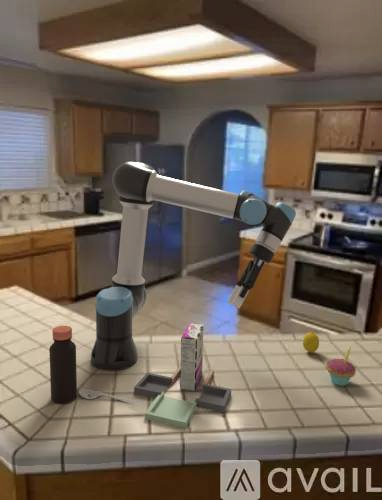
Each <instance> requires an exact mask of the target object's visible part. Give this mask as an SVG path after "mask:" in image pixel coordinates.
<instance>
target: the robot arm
mask: <svg viewBox="0 0 382 500" xmlns="http://www.w3.org/2000/svg"><path fill="white" fill-rule="evenodd" d="M112 174H113V175H112V180H111V181H112V186H113V188H114V190H115V191H116V193H117V194H118V196H119V199H118V202H119V204H121V205H122V216H121V225H120V239H119V249H118V260H117V272H116V274H115V275H114V276H112V277H111V278H112V279H111V287H108V288H103V289H101V290H100V291H99V292H98V294H96V296H95V297H96V299H95V305H94V306H95V328H96V329H95V331H96V332H95V333H96V334H95V335H96V336H95V342H94V344H93V348H92V350H91V355H90V363H91V364H92V365H93V366H94V367H95V368H97V369H100V370H105V371H119V370H124V369H128V368H129V367H132V366H133V365H136V363H137V361H138V349H137V347H136V343H135V341H134V337H133V319H134V318H135V316H136V315H137V313H138V312H139V311H140V310H142V308H143V307H144V305H145V303H146V299H147V291H146V290H147V289H146V287H145V286H146V279H145V278H144V277H143V275H142V274H143V264H144V263H143V262H144V254H145V246H146V237H147V226H148V225H147V224H148V215H149V209H151V208H152V207H153V206H154V202H155V201H157V202H161V203H165V204H170V205H174V206H177V207H181V208H182V207H183V208H187V209H190V210H194V211H198V212H199V211H200V212H204V213H208V214H211V215H216V216H220V217H225V218H228V219H233V220H236V221H240V222H244V223H245V224H247V225H250V226H252V225H253V226H255V225H260V226H262V229H261V230H260V232H259V233H258V235H257V237H256V239H255V243H253V244H252V246H251V248H250V249H249V254H250V255H251V256H253V259H250V260H249V262H248V264H247V265H246V267H245V269H244V270H243V273H242V274H241V275H240V277H239V279H238V280H237V281H236V285H235V287H234V289H233V291H232V292H231V294H230V296H229V297H228V299H227V303H229V304H230V305H231V306H234V307H235V308H236V309H238V310H240V309H241V306H242V305H243V304H244V301H245V299H246V298H247V296H248V294H249V293H250V290H252V289H253V288H254V286H255V284H256V281H257V279H258V276H259V275H260V272H261V270H262V269H263V266H264V265H265V264H270V263H271V262H272V260H273V258H274V256H275V253H276V252H277V250H278V249H280V248H281V247H282V245H281V243H282V242H283V241H284V240H283V239H284V238H285V237H286V235H287V233H288V231H289V229H290V228H291V226H292V225H293V221H294V219H295V218H296V216H297V212H296V210H295V208H294V207H292V206H291V205H289V204H286V203H285V202H280V201H278V202H277V203H276V204H275V205H274V204H271V203H270V202H267V201H266V200H264V199H263V198H261V197H259V196H257V195H255V194H254V193H252V192H250V191H247V190H246V189H243V190H241V192H240V193H235V192H231V191H226V190H222V189H218V188H214V187H209V186H205V185H201V184H198V183H197V184H196V183H193V182H192V183H191V182H189V181H186V180H185V181H184V180H180V179H175V178H172V177H168V176H163V175H159V174H158V173H157V171H156V170H155V169H154V168H153V167H152V166H151V165H149V164H147V163H144V162H141V161H139V162H138V161H137V162H135V161H125V162H123V163H121V164H120V165H119V166H117V167H116V169H115V170H114V172H113V173H112Z"/></svg>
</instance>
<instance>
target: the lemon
mask: <svg viewBox="0 0 382 500" xmlns="http://www.w3.org/2000/svg"><path fill="white" fill-rule="evenodd" d="M319 338H320V337H319V336H318V334H316V333H315V332H313V331H310V332H307V333H306V334H305V335H304V336H303V340H302V345H303V349H304V350H305V351H307V352H308V353H309V354H311V353H315V352H316V351H317V350H318V349H319V346H320V340H319Z"/></svg>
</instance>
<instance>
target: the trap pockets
mask: <svg viewBox="0 0 382 500" xmlns="http://www.w3.org/2000/svg"><path fill="white" fill-rule="evenodd" d="M171 385H172V376H168V375H161V374H156V373H151V372H146V373H145V374H144V375H143V376H142V377H141V378H140V380H139V381H138V382H137V384H136V385H135V386H133V394H134V395H138V396H143V397H147V398H153V399H156V397H157V396H158V394H161V393H162V392H164V395H165V393H166V392H167V391H168V389H169V388H170V386H171ZM202 385H203V384H202ZM231 396H232V388H227V387H223V386H217V385H213V384H209V385H208V384H204V385H203V390H202V392H201V394H200V395H199V397H198V398H194V399H195V402H197V407H196V408H199V409H202V410H203V409H204V410H209V411H212V412H213V411H214V412H218V413H223V414H224V413H225V411H226V408H227V406H228V405H229V404H228V403H229V401H230V399H231Z"/></svg>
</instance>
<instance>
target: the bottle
mask: <svg viewBox="0 0 382 500" xmlns="http://www.w3.org/2000/svg"><path fill="white" fill-rule="evenodd" d="M72 337H73V329H72V327H71V326H69V325H58V326H55V327H54V328H52V340H53V343H52V344H50V346H49V350H48V351H49V377H50V399H51V401H52V402H53V403H55V404H58V405H59V404H61V405H62V404H63V405H65V404H69V403H71V402H73V401H74V400H76V398H77V396H78V386H77V385H78V383H77V345H76V344H75V342H73V341H72Z"/></svg>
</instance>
